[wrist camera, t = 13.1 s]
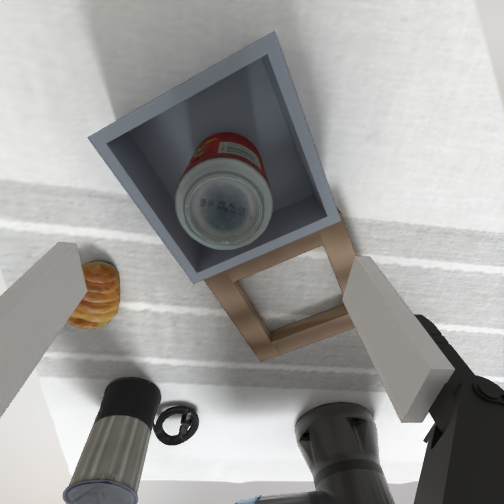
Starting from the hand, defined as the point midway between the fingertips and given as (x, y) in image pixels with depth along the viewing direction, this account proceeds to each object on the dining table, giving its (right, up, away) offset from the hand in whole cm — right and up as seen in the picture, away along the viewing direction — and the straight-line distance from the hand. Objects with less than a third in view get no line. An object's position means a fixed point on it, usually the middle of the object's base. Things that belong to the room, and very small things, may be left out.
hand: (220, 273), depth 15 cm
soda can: (-1, +10, +17) cm, 20 cm away
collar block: (+7, -4, +26) cm, 28 cm away
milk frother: (-15, -25, +38) cm, 48 cm away
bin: (-1, +11, +17) cm, 20 cm away
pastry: (-19, -4, +25) cm, 32 cm away
